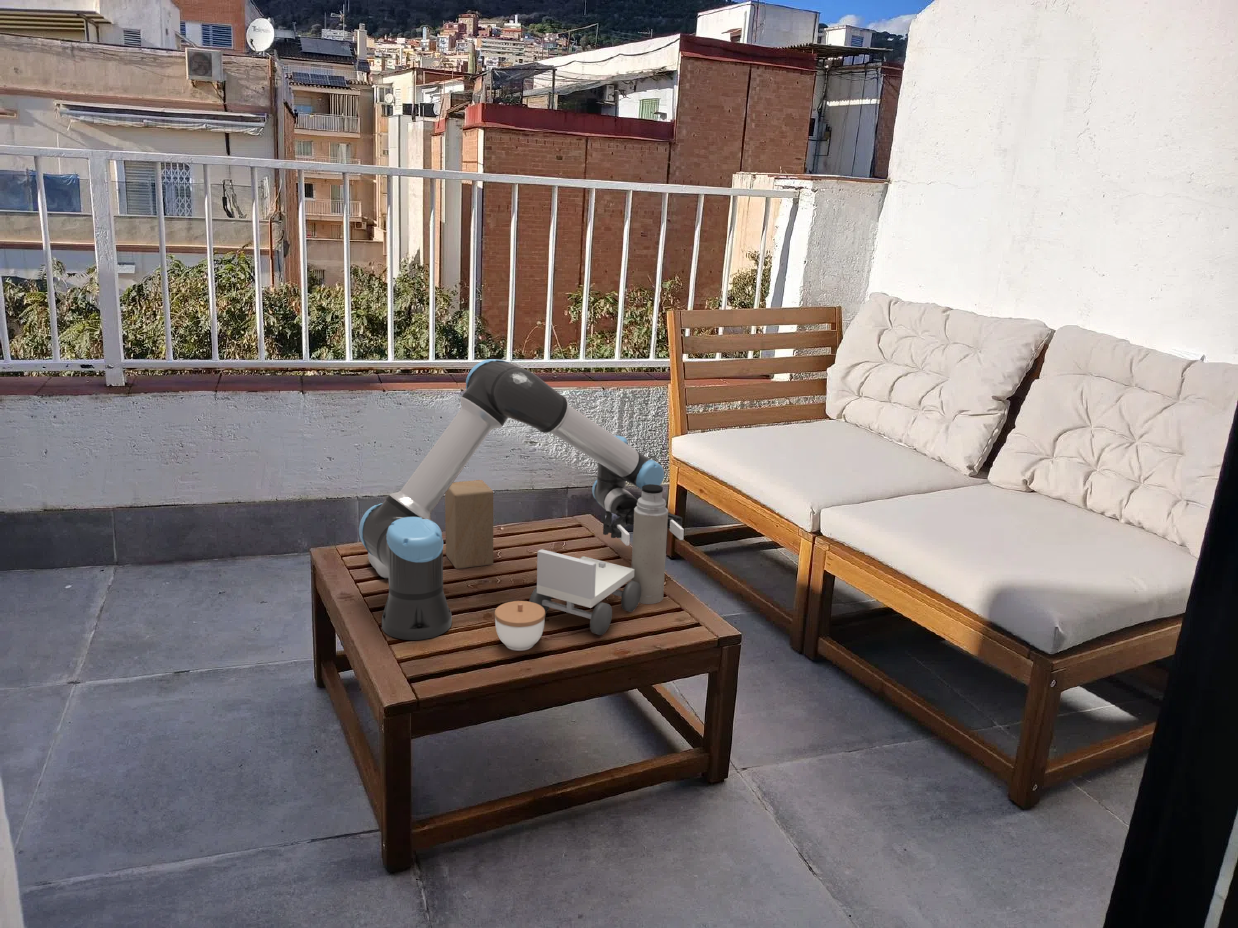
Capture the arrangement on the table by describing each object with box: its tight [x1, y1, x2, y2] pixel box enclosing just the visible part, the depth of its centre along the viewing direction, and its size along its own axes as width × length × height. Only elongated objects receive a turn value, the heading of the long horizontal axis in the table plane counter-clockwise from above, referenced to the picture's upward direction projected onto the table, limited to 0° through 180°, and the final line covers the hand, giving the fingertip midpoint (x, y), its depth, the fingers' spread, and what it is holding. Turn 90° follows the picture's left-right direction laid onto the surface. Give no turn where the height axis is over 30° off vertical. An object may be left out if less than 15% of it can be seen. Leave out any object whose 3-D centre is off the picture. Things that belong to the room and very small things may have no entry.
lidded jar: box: [494, 600, 546, 652], centre depth 208 cm, size 11×11×9 cm
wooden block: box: [444, 479, 494, 570], centre depth 250 cm, size 10×10×20 cm
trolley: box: [528, 548, 641, 636], centre depth 223 cm, size 21×18×17 cm
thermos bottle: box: [630, 484, 669, 605], centre depth 231 cm, size 8×8×28 cm
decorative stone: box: [367, 551, 389, 579], centre depth 244 cm, size 17×10×10 cm
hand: (655, 537), depth 227 cm, fingers open, 13 cm apart
